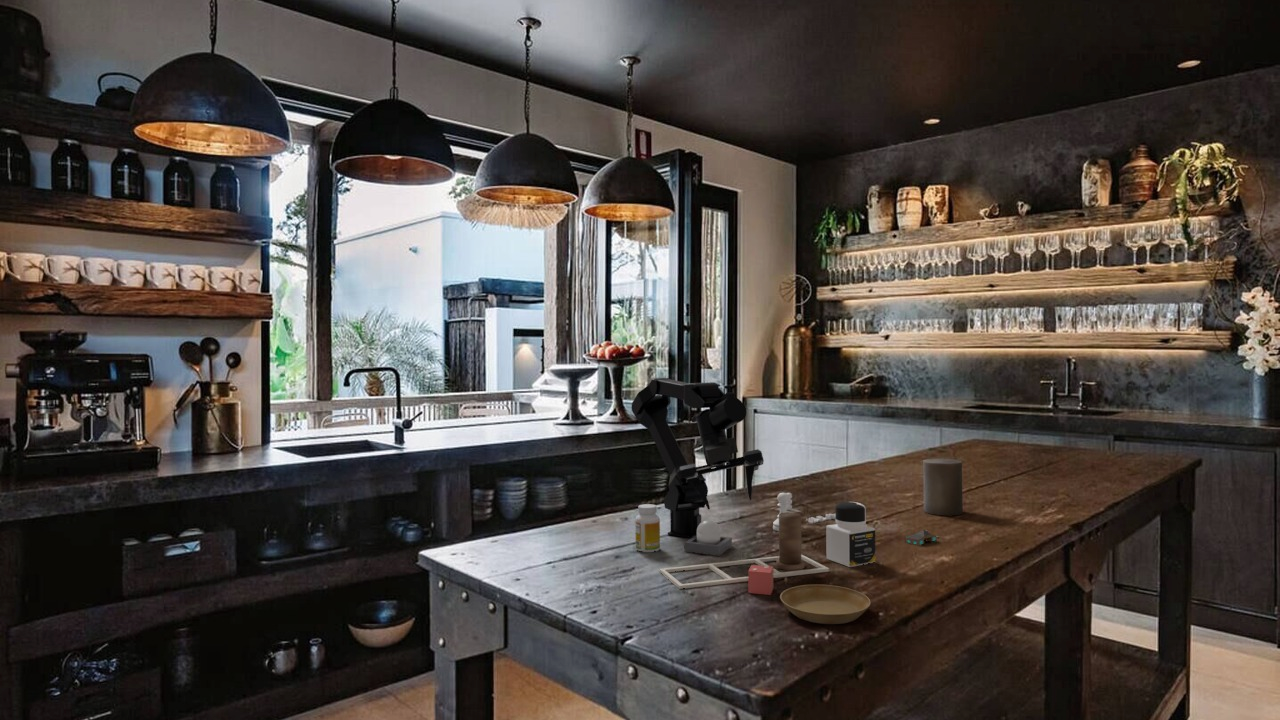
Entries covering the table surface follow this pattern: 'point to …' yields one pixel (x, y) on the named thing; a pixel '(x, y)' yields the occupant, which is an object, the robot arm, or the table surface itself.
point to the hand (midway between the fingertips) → (729, 504)
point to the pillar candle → (943, 486)
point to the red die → (760, 579)
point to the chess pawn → (781, 508)
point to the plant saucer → (825, 603)
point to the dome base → (708, 546)
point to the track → (741, 579)
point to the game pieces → (912, 539)
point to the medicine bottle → (850, 536)
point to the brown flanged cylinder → (790, 542)
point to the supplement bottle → (647, 529)
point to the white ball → (708, 532)
